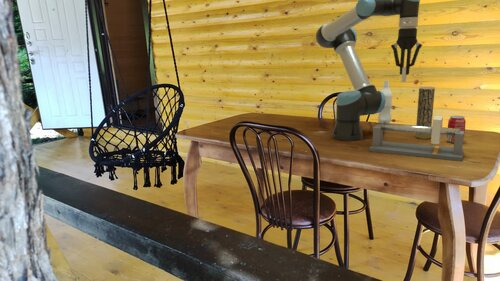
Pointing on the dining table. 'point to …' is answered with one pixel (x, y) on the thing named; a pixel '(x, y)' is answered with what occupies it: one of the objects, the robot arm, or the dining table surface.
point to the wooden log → (425, 109)
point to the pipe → (417, 129)
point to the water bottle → (386, 105)
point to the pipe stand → (418, 147)
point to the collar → (436, 129)
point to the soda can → (456, 126)
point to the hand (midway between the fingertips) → (403, 81)
